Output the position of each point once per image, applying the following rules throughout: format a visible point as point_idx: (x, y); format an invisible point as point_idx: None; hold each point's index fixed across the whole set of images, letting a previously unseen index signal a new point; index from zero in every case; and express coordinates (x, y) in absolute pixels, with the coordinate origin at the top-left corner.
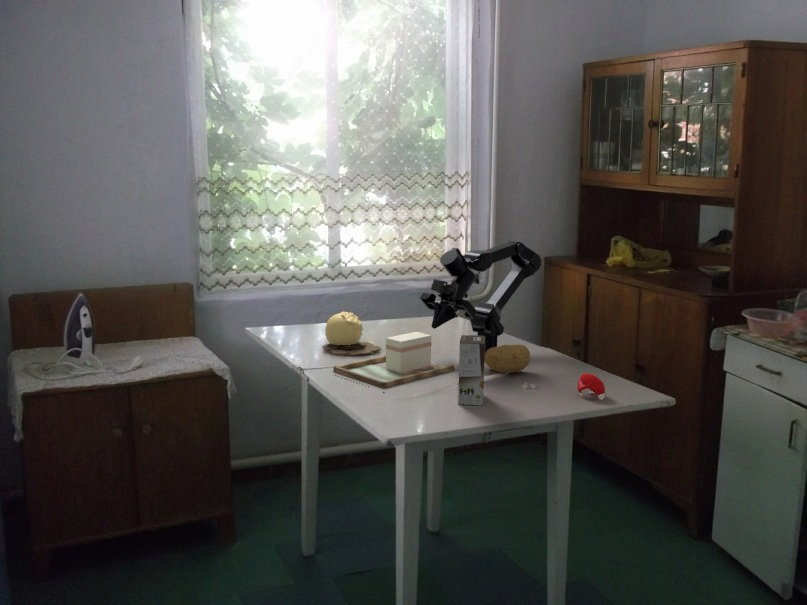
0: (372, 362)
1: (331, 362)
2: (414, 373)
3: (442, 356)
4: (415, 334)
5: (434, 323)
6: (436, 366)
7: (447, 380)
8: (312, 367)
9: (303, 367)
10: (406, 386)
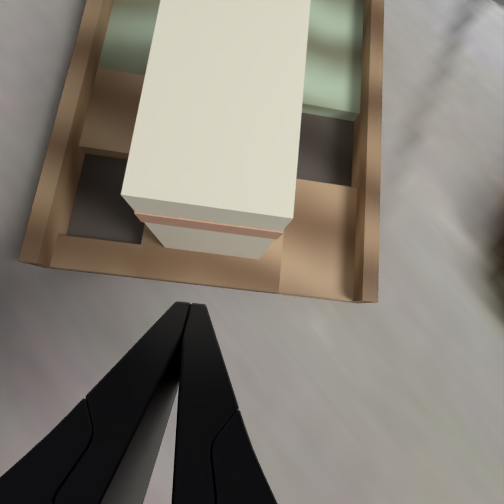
0: (361, 117)
1: (491, 97)
2: None
3: (272, 485)
4: (238, 139)
5: (170, 321)
6: (136, 255)
7: (15, 171)
8: (478, 22)
9: (494, 8)
10: None
